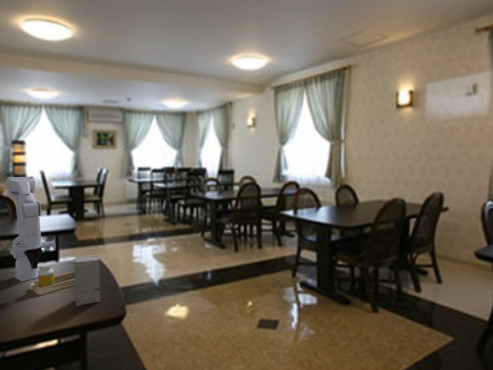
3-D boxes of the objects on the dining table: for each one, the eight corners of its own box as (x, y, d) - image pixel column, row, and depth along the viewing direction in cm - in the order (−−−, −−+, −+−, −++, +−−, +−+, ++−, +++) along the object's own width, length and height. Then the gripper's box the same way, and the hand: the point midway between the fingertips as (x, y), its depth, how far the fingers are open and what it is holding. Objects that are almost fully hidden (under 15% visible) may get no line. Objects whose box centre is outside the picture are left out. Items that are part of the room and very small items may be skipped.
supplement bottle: (47, 291, 133) (46, 267, 132) (35, 290, 134) (34, 266, 133) (57, 286, 138) (56, 263, 137) (46, 285, 139) (44, 262, 138)
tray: (29, 289, 136) (29, 283, 135) (79, 275, 151) (78, 269, 151) (39, 295, 129) (39, 289, 129) (90, 280, 144) (89, 274, 144)
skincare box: (75, 306, 120) (73, 263, 118) (75, 299, 126) (72, 257, 124) (101, 301, 124) (99, 259, 122) (100, 294, 130) (98, 254, 128)
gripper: (13, 239, 123) (16, 275, 124) (56, 231, 134) (58, 265, 135) (7, 236, 127) (9, 271, 128) (49, 229, 138) (51, 261, 140)
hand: (34, 268), depth 132 cm, fingers closed
